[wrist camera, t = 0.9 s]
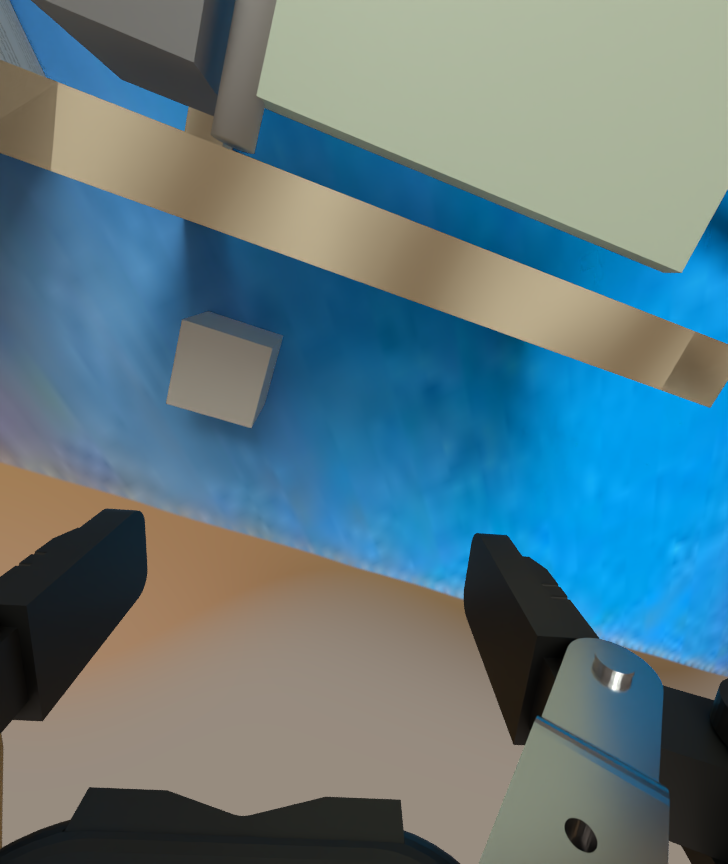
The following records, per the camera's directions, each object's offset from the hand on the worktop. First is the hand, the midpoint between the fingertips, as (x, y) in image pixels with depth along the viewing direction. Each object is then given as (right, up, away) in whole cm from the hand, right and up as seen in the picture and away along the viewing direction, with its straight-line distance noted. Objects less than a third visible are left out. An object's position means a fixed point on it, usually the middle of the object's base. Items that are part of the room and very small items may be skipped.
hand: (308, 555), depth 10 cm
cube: (-7, +8, +19) cm, 21 cm away
